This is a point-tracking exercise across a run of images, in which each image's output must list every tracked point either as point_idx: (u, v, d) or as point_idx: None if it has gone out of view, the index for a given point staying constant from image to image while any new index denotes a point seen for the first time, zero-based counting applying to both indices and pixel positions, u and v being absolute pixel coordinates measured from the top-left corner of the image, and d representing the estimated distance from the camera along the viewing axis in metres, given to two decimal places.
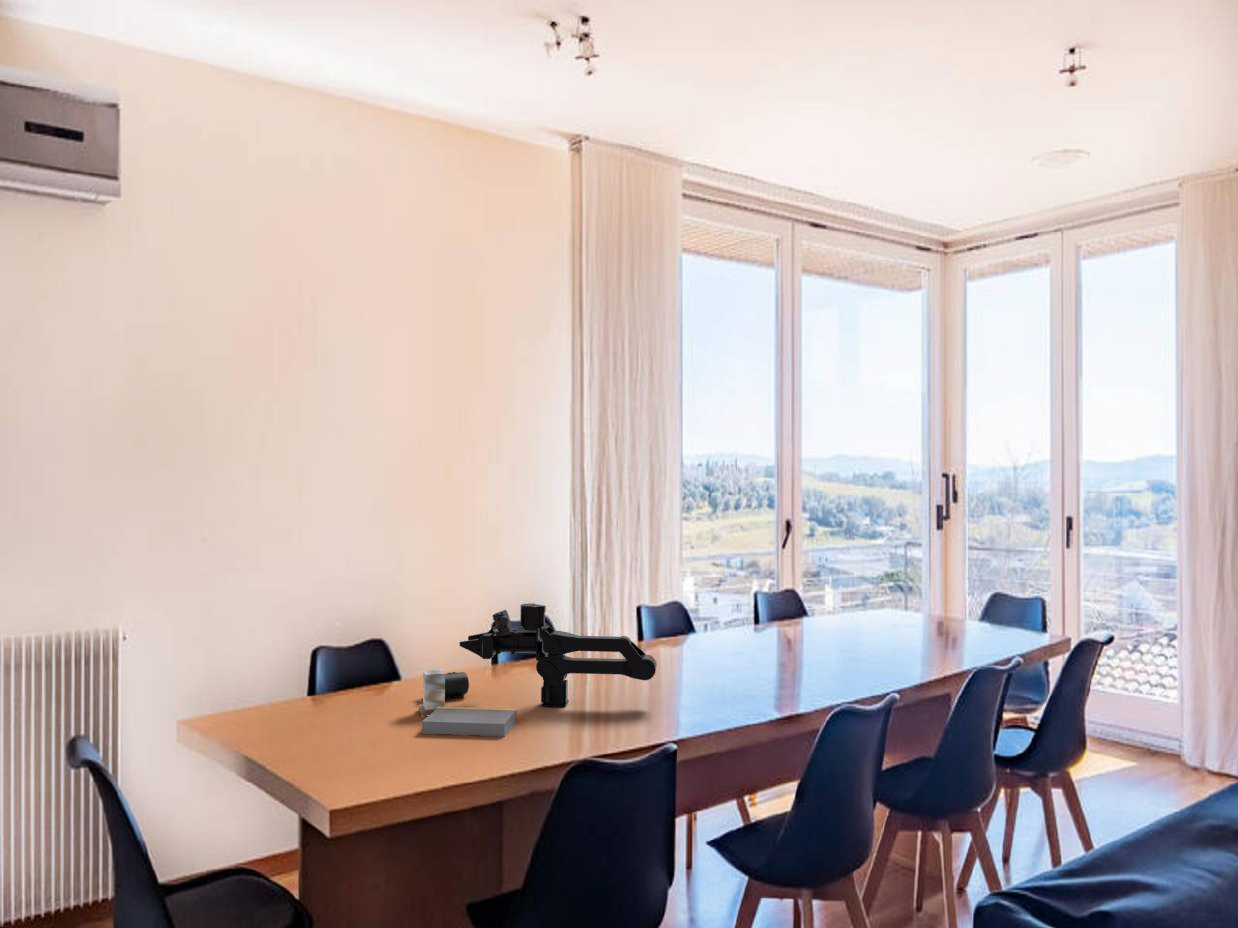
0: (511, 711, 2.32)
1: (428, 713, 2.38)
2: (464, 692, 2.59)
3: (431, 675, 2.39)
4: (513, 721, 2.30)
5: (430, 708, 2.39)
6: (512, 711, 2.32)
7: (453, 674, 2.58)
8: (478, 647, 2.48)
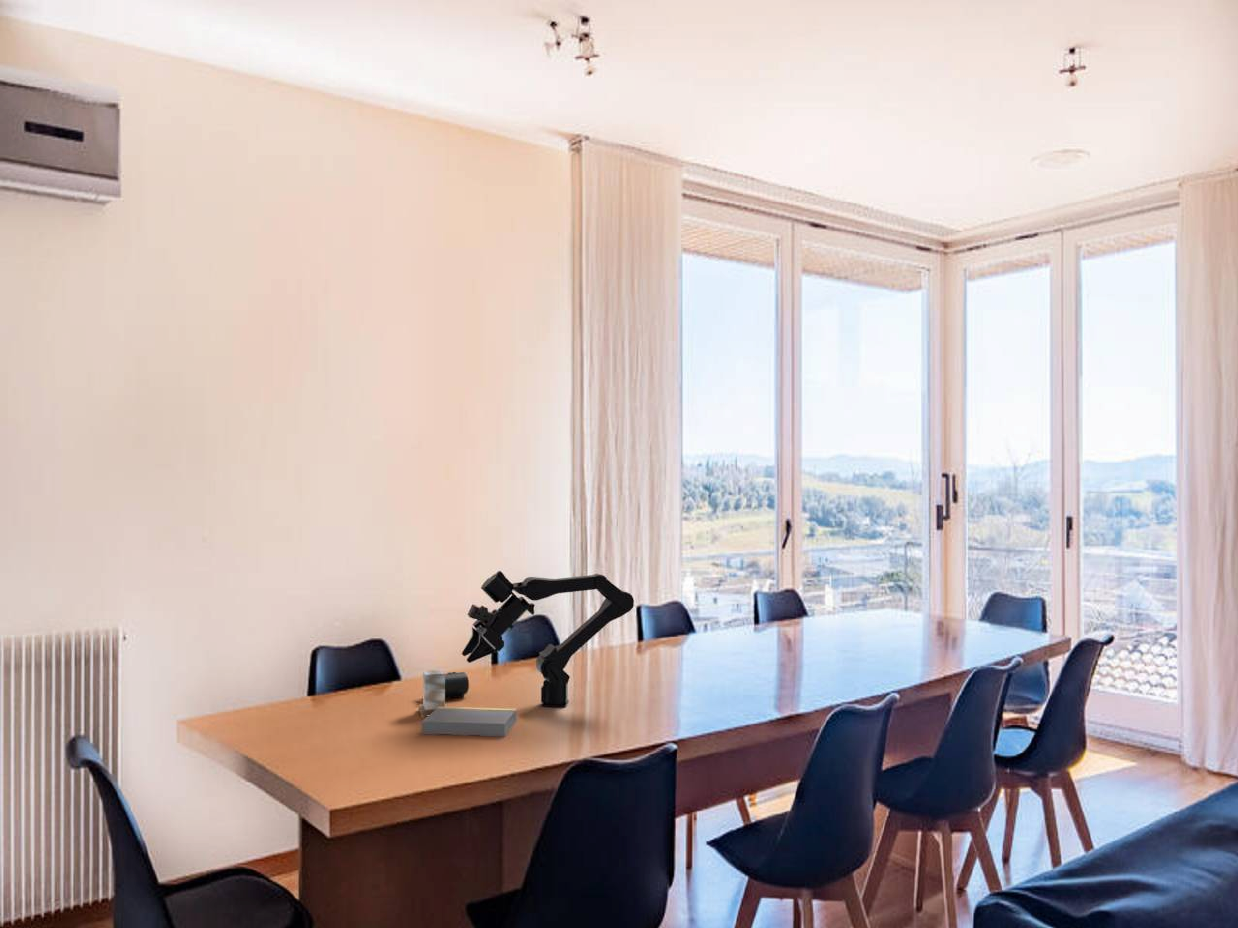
0: (511, 711, 2.32)
1: (428, 713, 2.38)
2: (464, 692, 2.59)
3: (431, 675, 2.39)
4: (513, 721, 2.30)
5: (430, 708, 2.39)
6: (512, 711, 2.32)
7: (453, 674, 2.58)
8: (485, 648, 2.40)
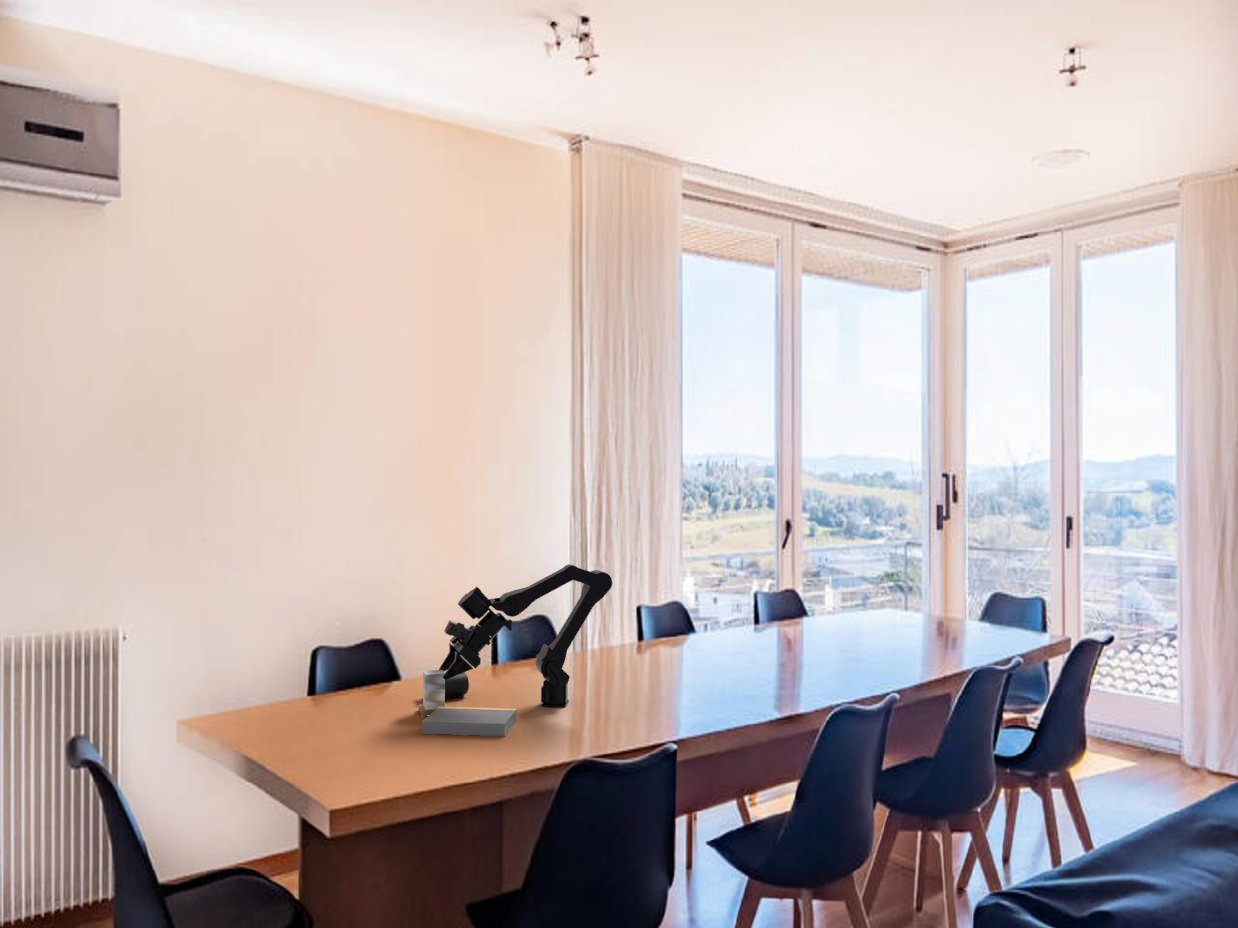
0: (511, 711, 2.32)
1: (428, 713, 2.38)
2: (464, 692, 2.59)
3: (431, 675, 2.39)
4: (513, 721, 2.30)
5: (430, 708, 2.39)
6: (512, 711, 2.32)
7: None
8: (461, 665, 2.38)
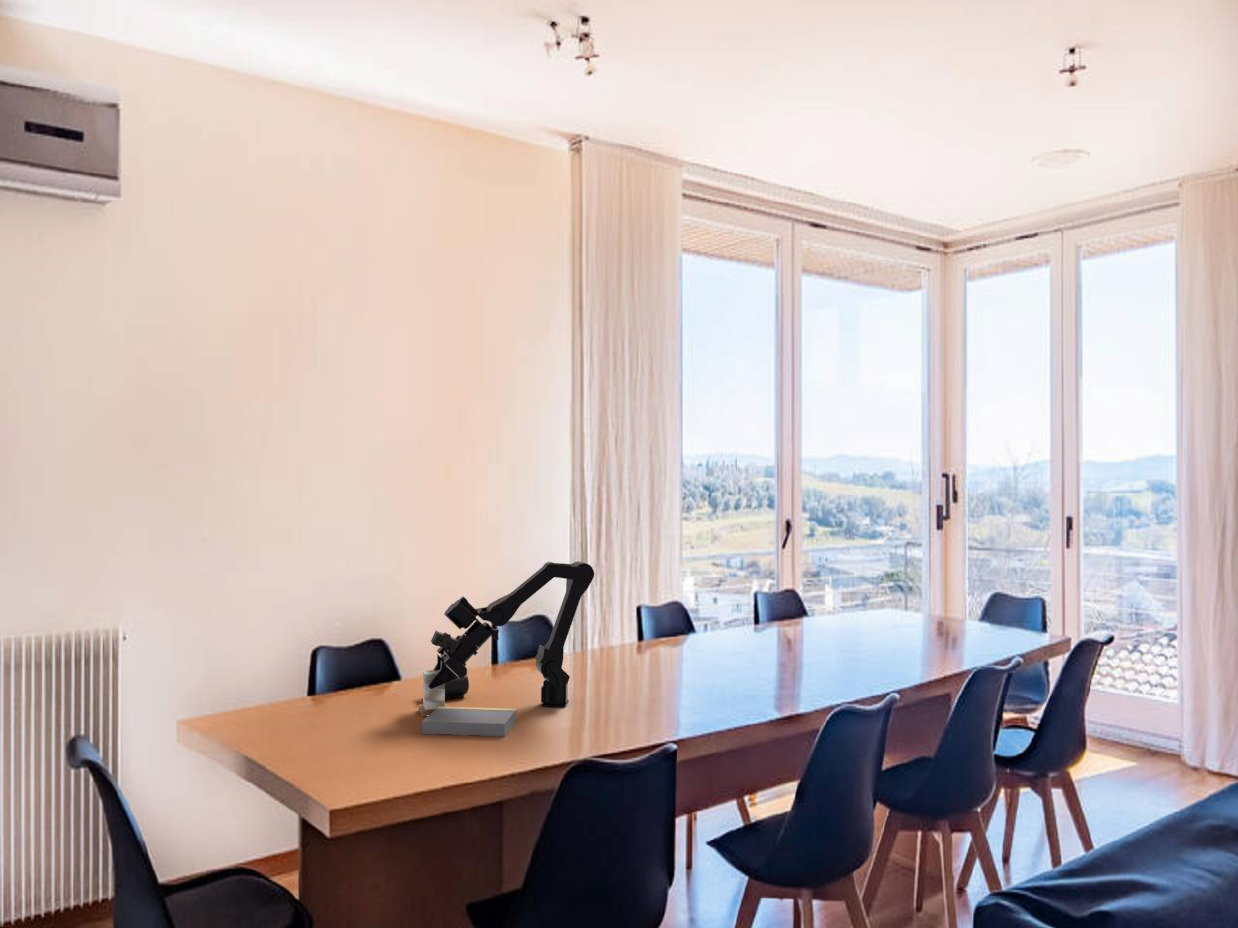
0: (511, 711, 2.32)
1: (428, 713, 2.38)
2: (464, 692, 2.59)
3: (431, 675, 2.39)
4: (513, 721, 2.30)
5: (430, 708, 2.39)
6: (512, 711, 2.32)
7: None
8: (447, 674, 2.39)
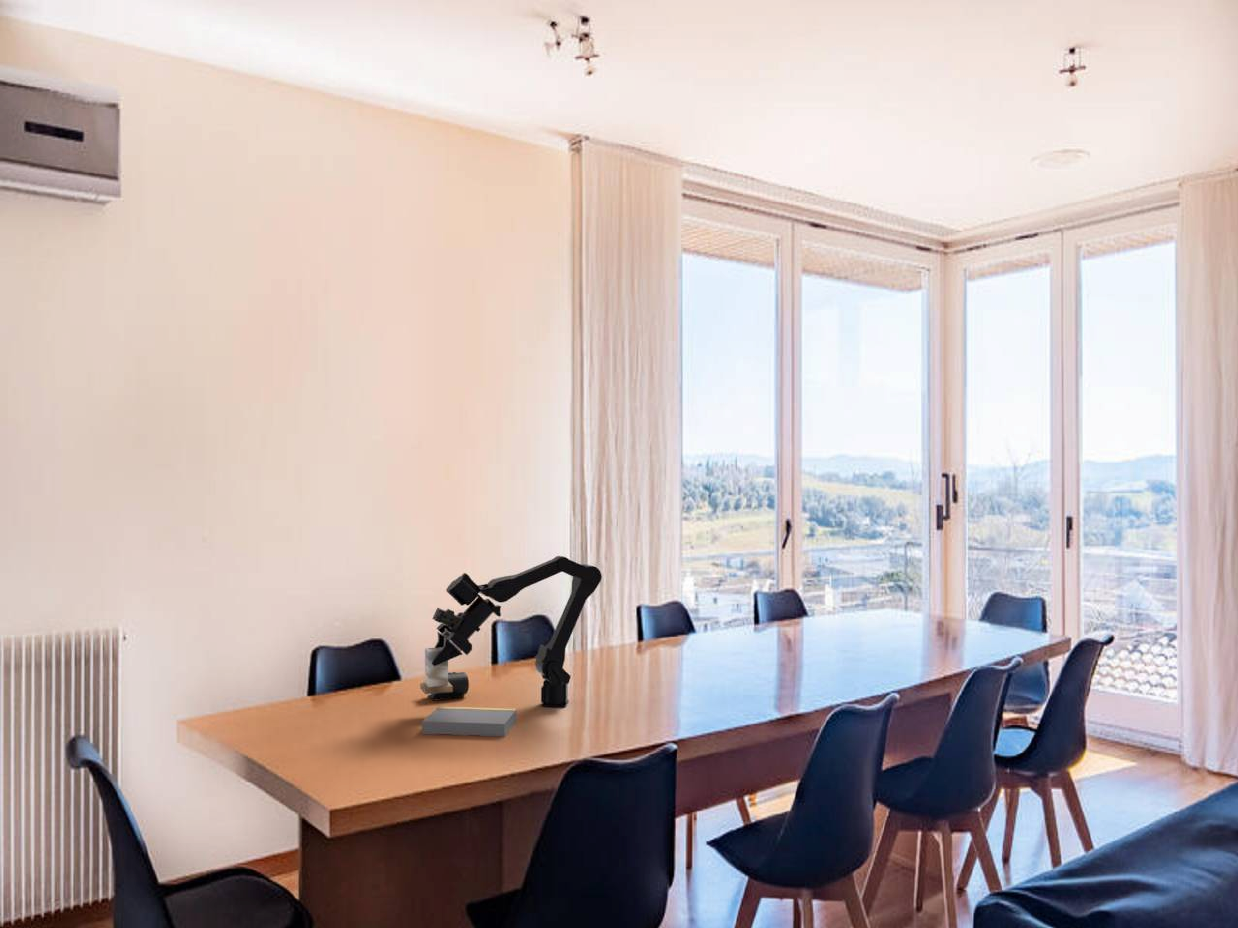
0: (511, 711, 2.32)
1: (432, 691, 2.36)
2: (464, 692, 2.59)
3: (434, 652, 2.37)
4: (513, 721, 2.30)
5: (433, 685, 2.37)
6: (512, 711, 2.32)
7: (453, 674, 2.58)
8: (450, 651, 2.37)
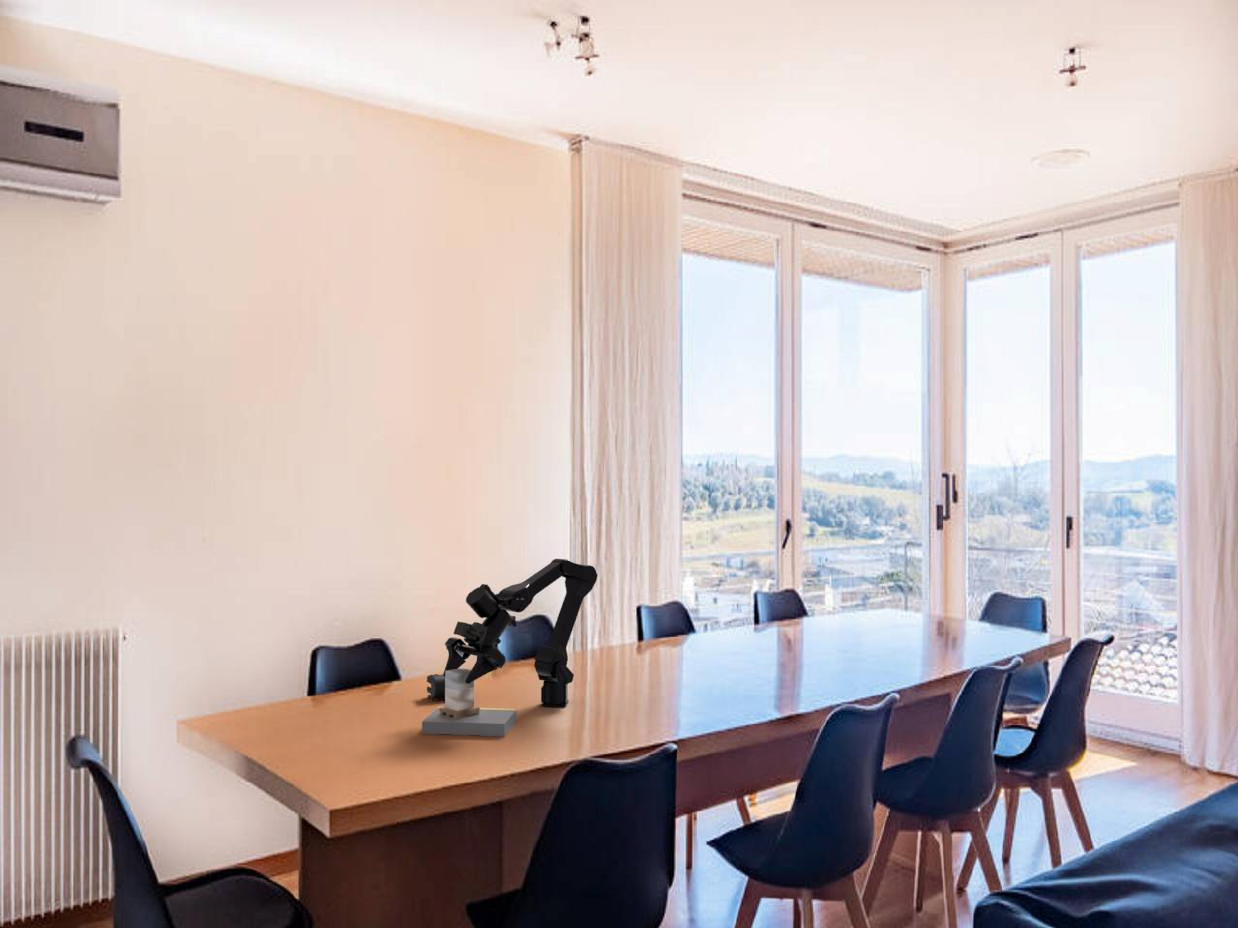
0: (511, 711, 2.32)
1: (462, 714, 2.26)
2: None
3: (462, 674, 2.27)
4: (513, 721, 2.30)
5: (461, 709, 2.27)
6: (512, 711, 2.32)
7: None
8: (483, 666, 2.27)
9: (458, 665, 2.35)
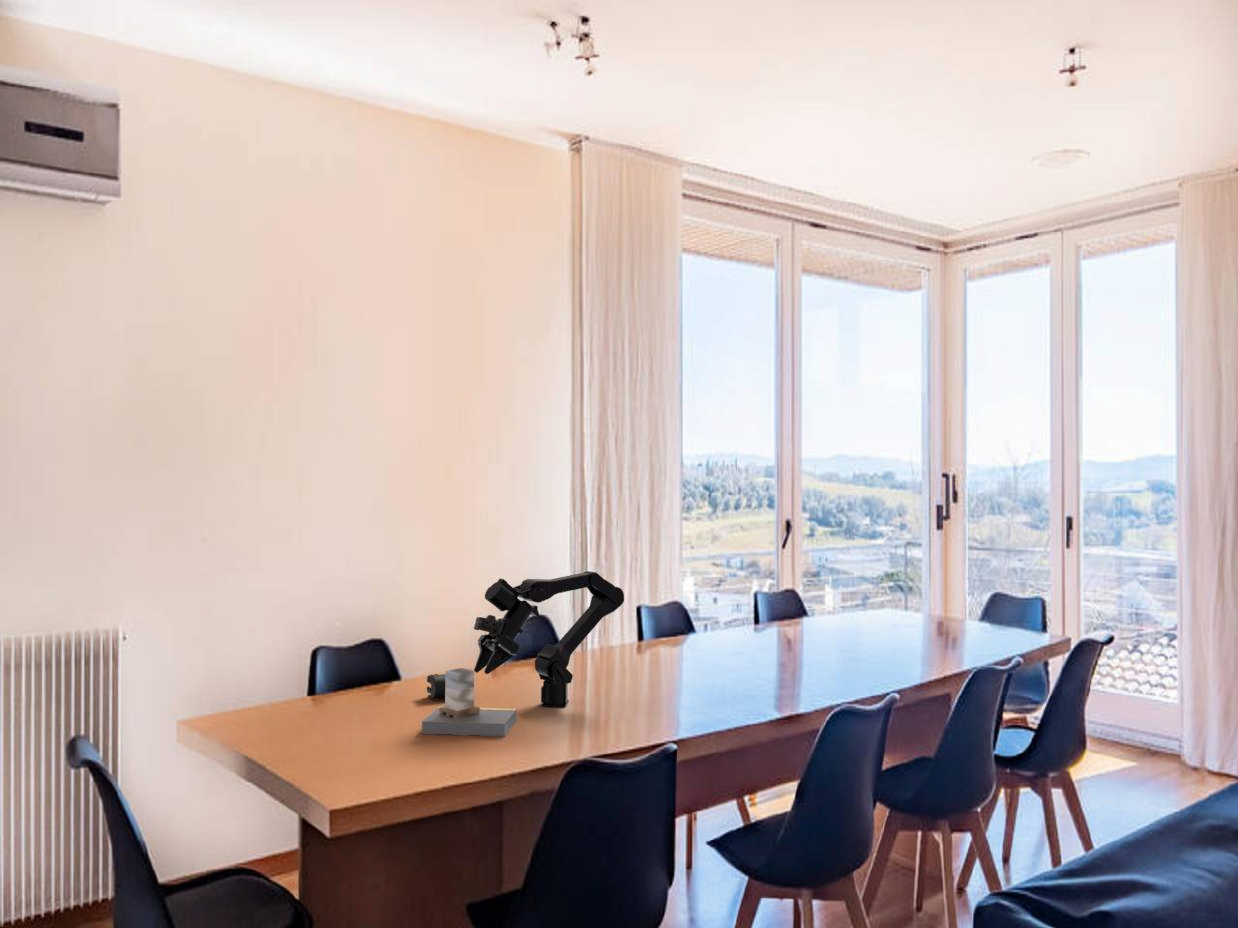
0: (511, 711, 2.32)
1: (462, 714, 2.26)
2: None
3: (462, 674, 2.27)
4: (513, 721, 2.30)
5: (461, 709, 2.27)
6: (512, 711, 2.32)
7: None
8: (501, 656, 2.36)
9: (490, 659, 2.45)
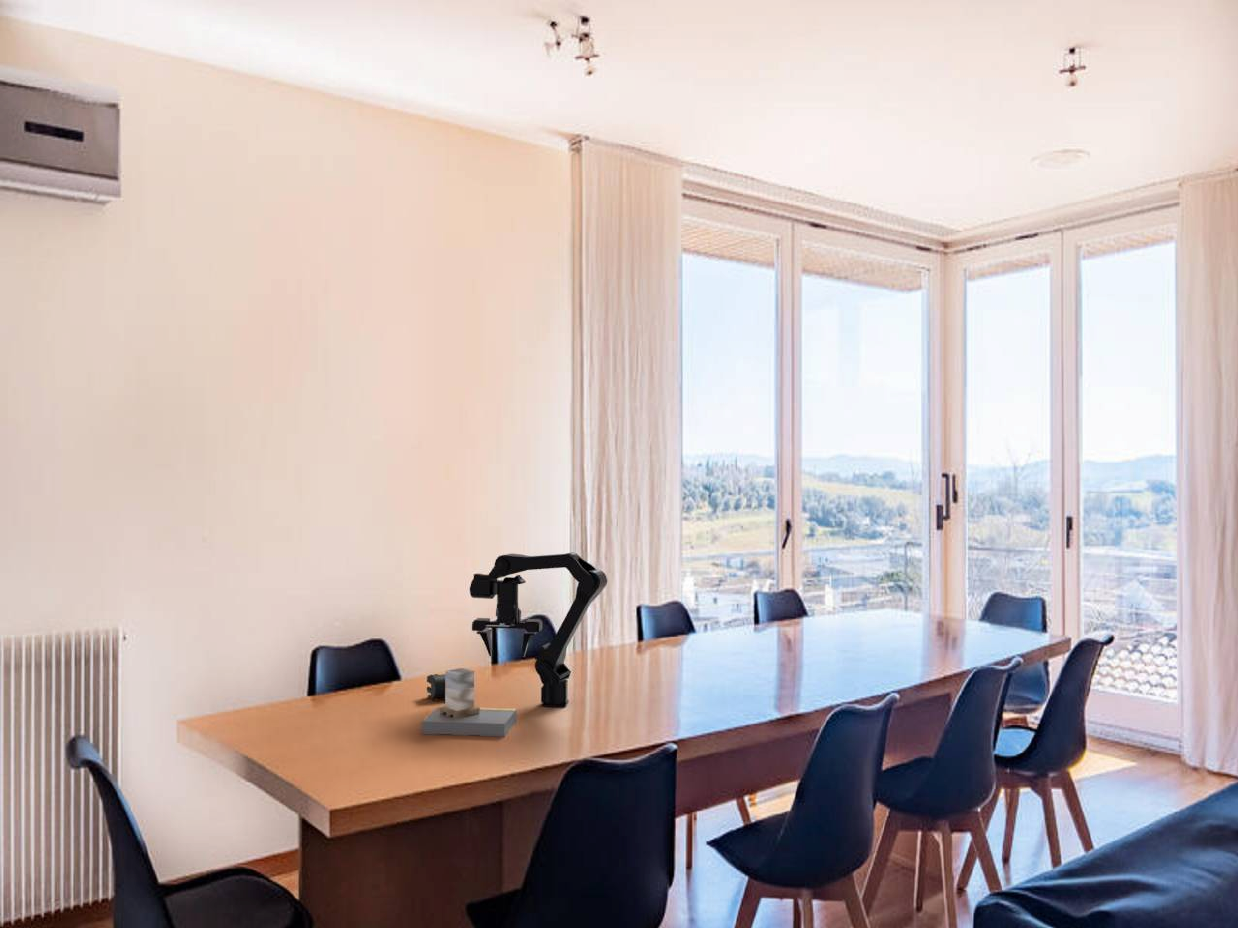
0: (511, 711, 2.32)
1: (462, 714, 2.26)
2: None
3: (462, 674, 2.27)
4: (513, 721, 2.30)
5: (461, 709, 2.27)
6: (512, 711, 2.32)
7: None
8: None
9: (523, 640, 2.54)
